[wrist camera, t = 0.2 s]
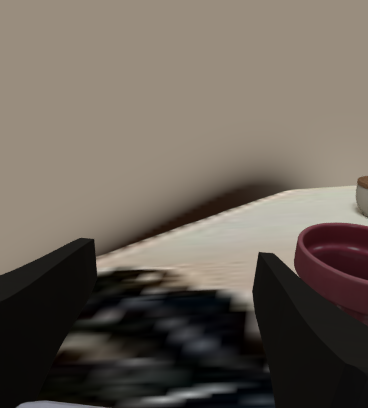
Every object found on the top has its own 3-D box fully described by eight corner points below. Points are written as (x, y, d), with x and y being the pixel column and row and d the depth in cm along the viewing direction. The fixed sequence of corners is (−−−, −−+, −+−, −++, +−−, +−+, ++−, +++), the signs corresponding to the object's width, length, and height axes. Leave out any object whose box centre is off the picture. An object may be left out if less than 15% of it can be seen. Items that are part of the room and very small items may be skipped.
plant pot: (383, 418, 27) (423, 308, 22) (261, 328, 37) (273, 241, 33) (427, 344, 35) (463, 253, 31) (318, 287, 45) (333, 213, 41)
